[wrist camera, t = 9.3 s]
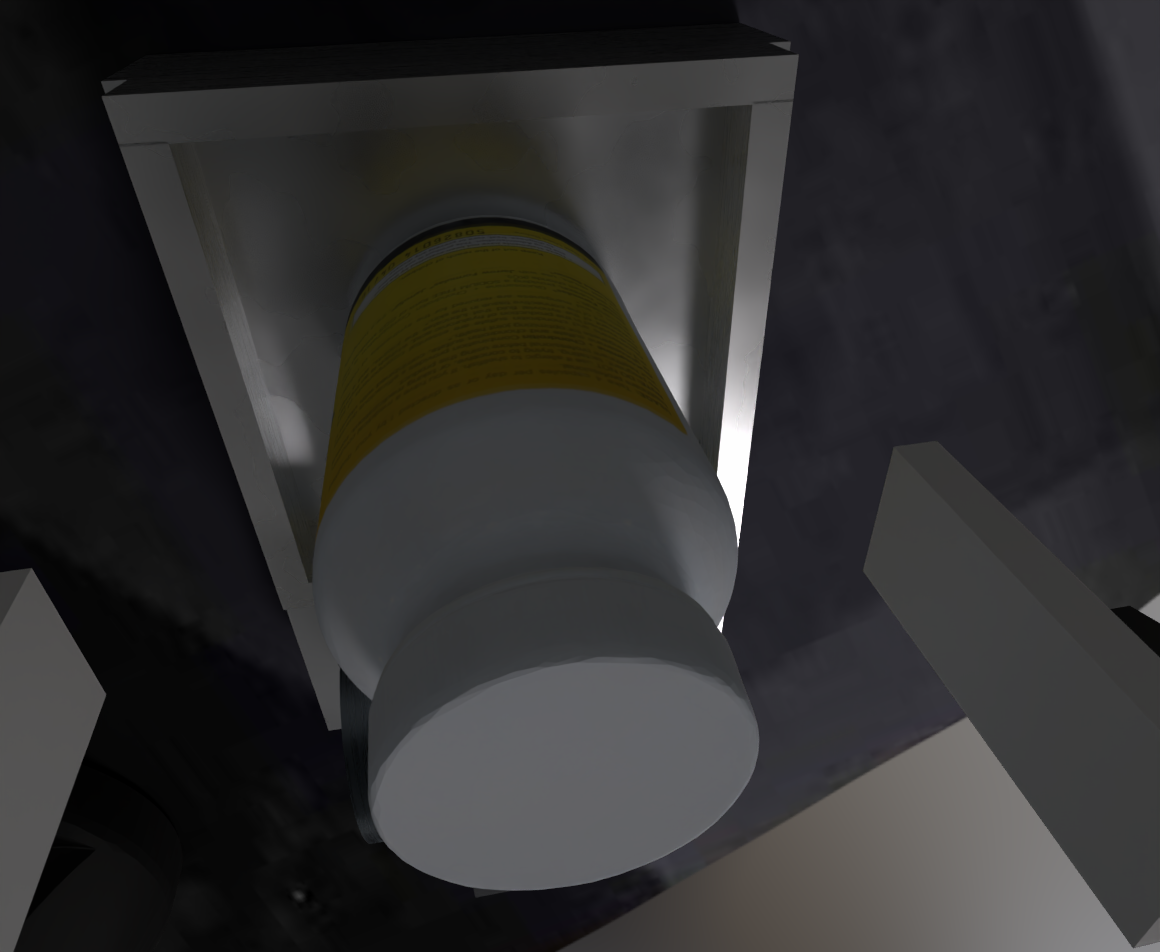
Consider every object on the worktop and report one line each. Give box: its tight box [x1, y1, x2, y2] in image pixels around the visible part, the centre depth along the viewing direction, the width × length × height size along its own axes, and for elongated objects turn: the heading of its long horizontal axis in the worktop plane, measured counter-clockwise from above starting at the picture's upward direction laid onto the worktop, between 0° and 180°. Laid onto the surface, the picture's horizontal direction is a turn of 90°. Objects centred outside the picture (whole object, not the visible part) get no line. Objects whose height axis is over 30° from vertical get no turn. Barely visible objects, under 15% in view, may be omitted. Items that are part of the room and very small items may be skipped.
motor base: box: [101, 23, 799, 897], centre depth 19 cm, size 19×13×10 cm
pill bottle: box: [312, 215, 759, 890], centre depth 14 cm, size 6×6×12 cm
